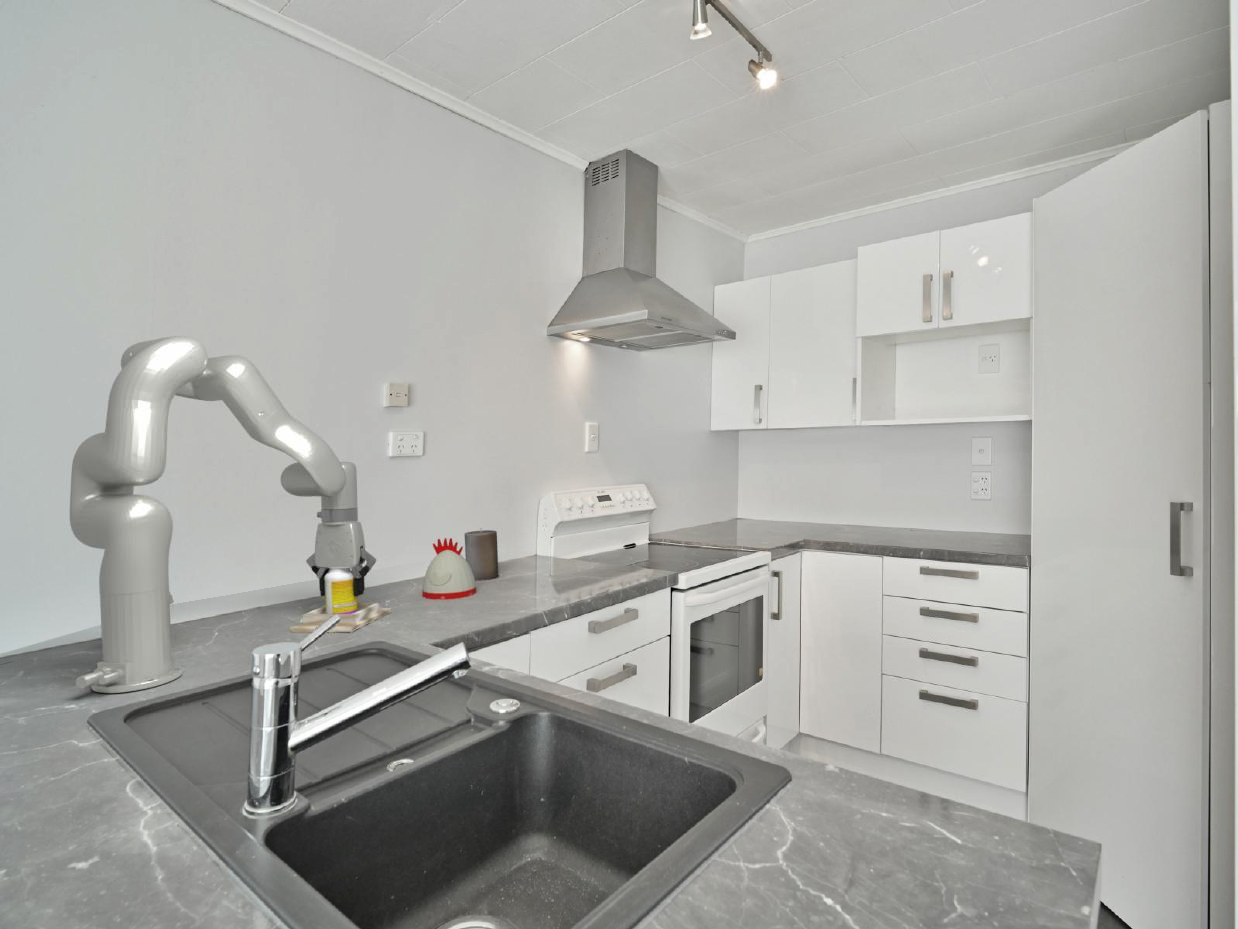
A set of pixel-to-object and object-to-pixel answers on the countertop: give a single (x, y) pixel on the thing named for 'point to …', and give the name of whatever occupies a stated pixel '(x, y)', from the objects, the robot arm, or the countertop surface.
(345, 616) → the beige flat rectangular tray
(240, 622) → the countertop surface
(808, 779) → the countertop surface
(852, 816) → the countertop surface
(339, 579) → the supplement bottle
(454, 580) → the kitchen timer
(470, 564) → the pillar candle
